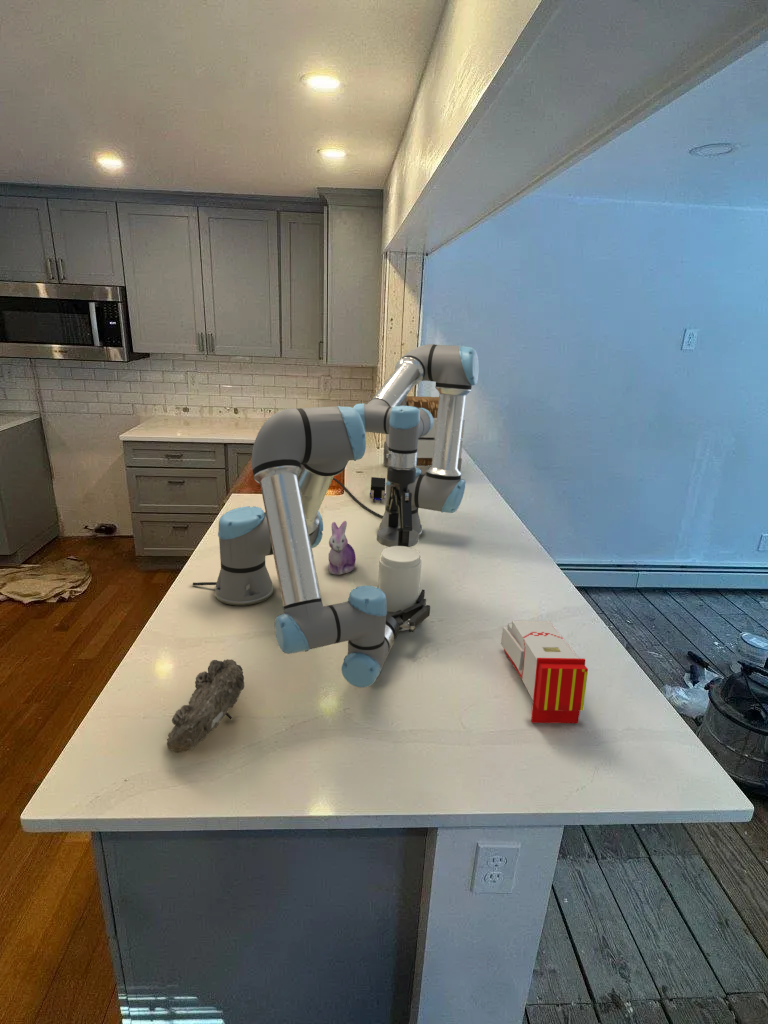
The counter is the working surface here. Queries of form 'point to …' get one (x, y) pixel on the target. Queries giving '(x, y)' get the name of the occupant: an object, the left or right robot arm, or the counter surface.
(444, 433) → the right robot arm
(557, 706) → the toy
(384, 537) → the lid
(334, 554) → the figurine
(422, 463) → the white slatted crate
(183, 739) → the fossil
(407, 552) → the jar
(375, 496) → the figurine character
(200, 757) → the counter surface
